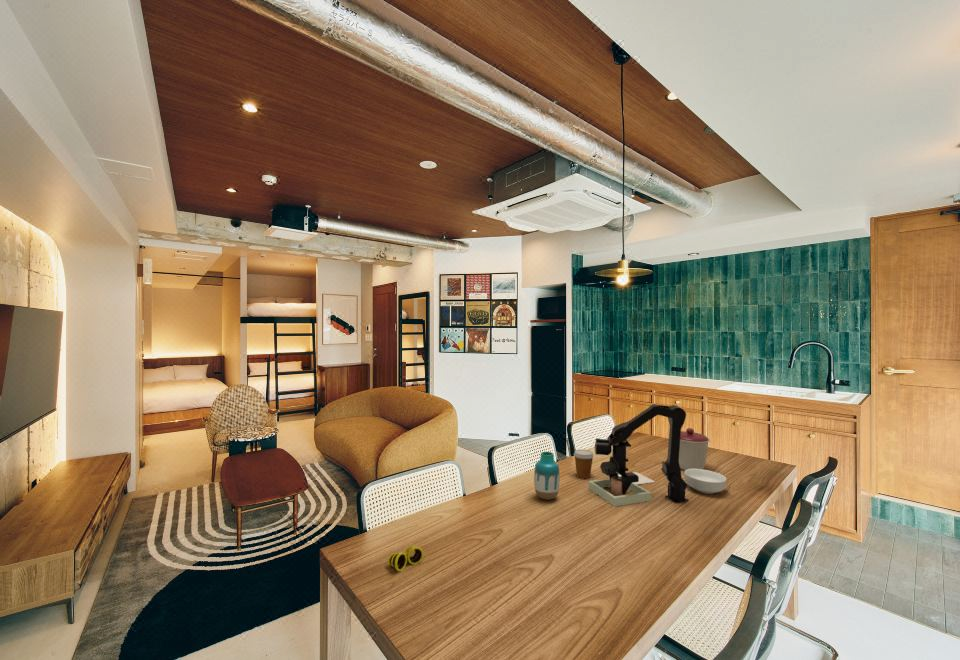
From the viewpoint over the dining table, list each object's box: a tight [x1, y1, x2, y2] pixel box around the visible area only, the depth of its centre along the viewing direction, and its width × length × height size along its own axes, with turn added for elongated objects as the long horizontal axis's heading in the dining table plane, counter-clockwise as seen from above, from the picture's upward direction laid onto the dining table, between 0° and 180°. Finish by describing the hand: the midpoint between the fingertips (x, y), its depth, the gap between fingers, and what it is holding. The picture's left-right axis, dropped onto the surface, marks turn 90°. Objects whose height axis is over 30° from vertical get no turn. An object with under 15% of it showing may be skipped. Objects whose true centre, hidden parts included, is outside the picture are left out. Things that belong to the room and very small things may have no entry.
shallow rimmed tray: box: [588, 478, 652, 507], centre depth 174 cm, size 18×18×4 cm
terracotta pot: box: [610, 476, 628, 496], centre depth 174 cm, size 6×6×7 cm
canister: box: [679, 427, 711, 471], centre depth 208 cm, size 18×18×21 cm
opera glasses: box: [387, 545, 424, 572], centre depth 122 cm, size 10×5×5 cm, turn 131°
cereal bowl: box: [683, 468, 728, 495], centre depth 180 cm, size 17×17×7 cm
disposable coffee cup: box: [573, 448, 595, 479], centre depth 195 cm, size 10×10×12 cm
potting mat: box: [618, 471, 656, 486], centre depth 193 cm, size 13×13×1 cm
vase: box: [533, 451, 561, 501], centre depth 170 cm, size 11×11×19 cm
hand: (618, 491), depth 174 cm, fingers closed on terracotta pot, 6 cm apart
